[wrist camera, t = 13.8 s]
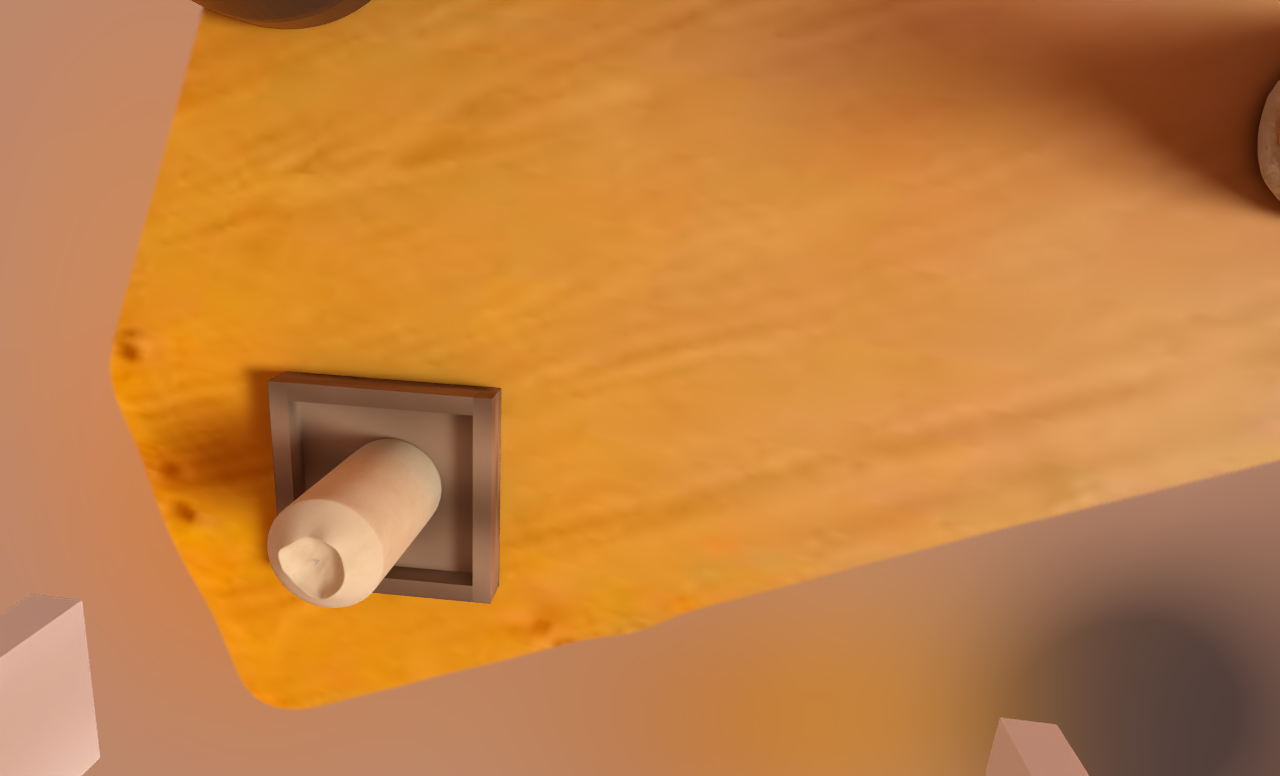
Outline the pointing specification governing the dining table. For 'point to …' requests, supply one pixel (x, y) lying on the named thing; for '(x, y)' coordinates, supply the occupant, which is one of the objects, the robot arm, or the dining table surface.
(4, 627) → the robot arm
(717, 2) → the dining table surface
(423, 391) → the tray
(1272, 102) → the bottle
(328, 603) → the candle
